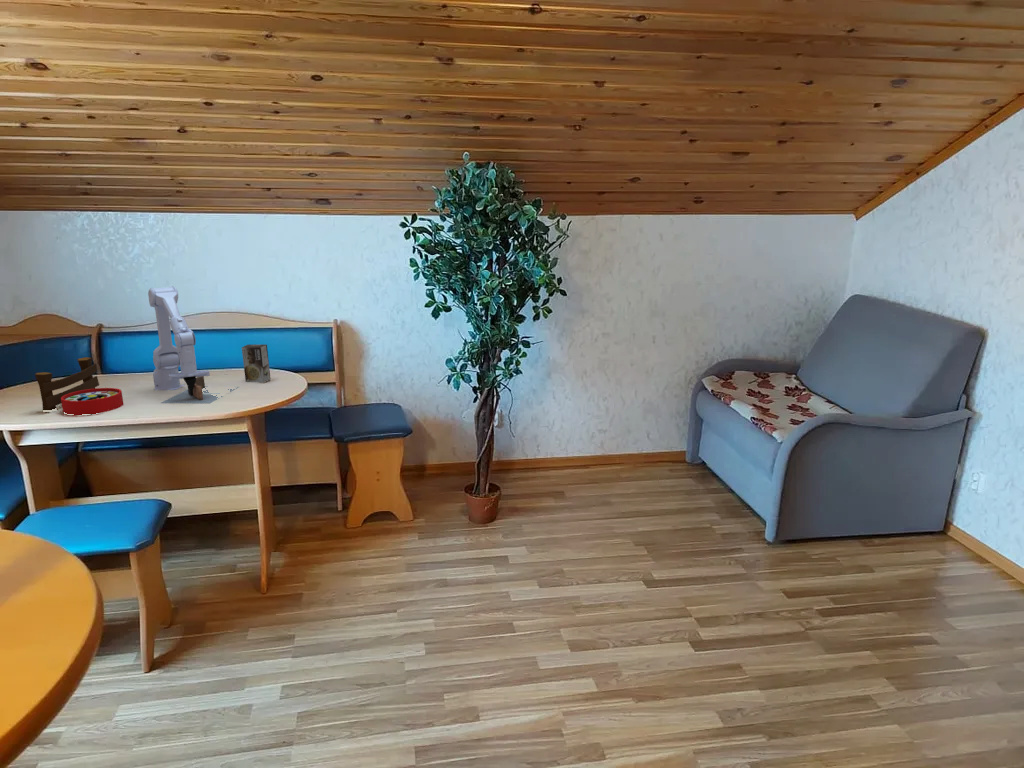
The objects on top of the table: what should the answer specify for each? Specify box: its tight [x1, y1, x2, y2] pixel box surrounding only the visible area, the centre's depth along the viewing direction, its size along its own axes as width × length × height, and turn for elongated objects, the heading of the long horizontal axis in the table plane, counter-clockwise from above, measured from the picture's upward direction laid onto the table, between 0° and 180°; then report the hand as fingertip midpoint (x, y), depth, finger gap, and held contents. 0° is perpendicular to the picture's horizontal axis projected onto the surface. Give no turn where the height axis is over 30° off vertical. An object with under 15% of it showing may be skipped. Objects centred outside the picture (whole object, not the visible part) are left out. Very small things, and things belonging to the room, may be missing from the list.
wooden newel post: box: [193, 384, 203, 400], centre depth 274 cm, size 12×2×5 cm, turn 42°
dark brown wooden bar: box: [187, 376, 206, 394], centre depth 285 cm, size 2×12×5 cm, turn 177°
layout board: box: [160, 386, 240, 405], centre depth 279 cm, size 20×26×1 cm
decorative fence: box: [34, 356, 100, 411], centre depth 270 cm, size 34×6×15 cm, turn 1°
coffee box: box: [241, 343, 271, 383], centre depth 301 cm, size 9×6×16 cm
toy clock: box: [61, 387, 124, 415], centre depth 261 cm, size 20×6×20 cm
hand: (191, 395), depth 273 cm, fingers closed
